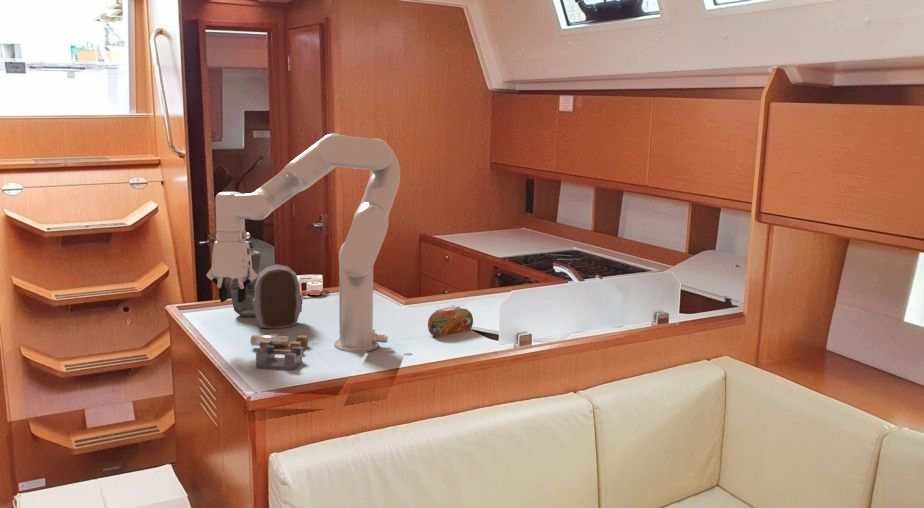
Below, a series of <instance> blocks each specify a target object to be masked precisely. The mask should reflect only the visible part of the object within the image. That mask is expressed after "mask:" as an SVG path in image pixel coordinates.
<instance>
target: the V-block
mask: <svg viewBox="0 0 924 508" xmlns="http://www.w3.org/2000/svg"><path fill="white" fill-rule="evenodd" d="M275 355H276V353H275V352H274V346H267V345H265V346H264V347H263V352H260V351H257V352H255V369H257V370H258V369H262V370H263V369H264V370H280V371H281V370H282V371H283V370H285V371H295V370H296V369H297V368H298V367H299V366H300V365H301V364H302V362H303V351H302V347H292V348H291V353H286V354H284V357H276V356H275Z"/></svg>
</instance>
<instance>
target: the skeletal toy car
mask: <svg viewBox="0 0 924 508" xmlns="http://www.w3.org/2000/svg"><path fill="white" fill-rule="evenodd" d="M296 276H297V279H298V282H299V285H300V292H301V293H302V283H303V284H305V283H306V292H307V291H311V290H319V291H324V290H322V289H324V286H323V285H324V284H323V282H324V279H323V278H324V277H323V275H322V274H301V275H296Z"/></svg>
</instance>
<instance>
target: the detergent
mask: <svg viewBox="0 0 924 508" xmlns="http://www.w3.org/2000/svg"><path fill="white" fill-rule="evenodd" d="M247 241H248V243H249V247H250V252H251V260H252V269H253V270H254V272H255V273H256V274H257V276H258V274H259V273H260V272H261V271H262V270H261V271H260V265H261V255H262V254H261V252H259V251H257V250H254V244H253V241H251V240H250V241H249V240H247ZM245 278H246V280H247V279H248V278H250V275H248V276H247V277H245ZM257 278H258V277H257ZM257 278H256V279H255V280H253V281H252V282H251V283H250V284H249V285H247V287H246V299H245V300H244V301H243V302H242V303H239V302H238V289H239V282H238V278H231V280H230V284H229V293H230V297H231V301H232V302H231V303H232V307H233V311H234V312H236V314H237V315H239V316H241V317H242V318H253V317H256V315H255V314H254V311H253V299H254V298H255V284H256V281H257Z"/></svg>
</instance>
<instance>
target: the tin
mask: <svg viewBox="0 0 924 508" xmlns="http://www.w3.org/2000/svg"><path fill="white" fill-rule="evenodd" d="M429 316H430V317H429V318H428V320H427V329H428V332H429V334H430V335H432V336H433V337H435V338H440V337H445V336H449V335H453V334H458V333H463V332H470V331H471V330H472V327H473V324H474V317H473V314H472V313H471V311H470V310H469V309H466V308H461V307H459V308H455V309H448V310H441V311H436V312H435V311H434V312H433V313H432V314H431V315H429Z"/></svg>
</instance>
